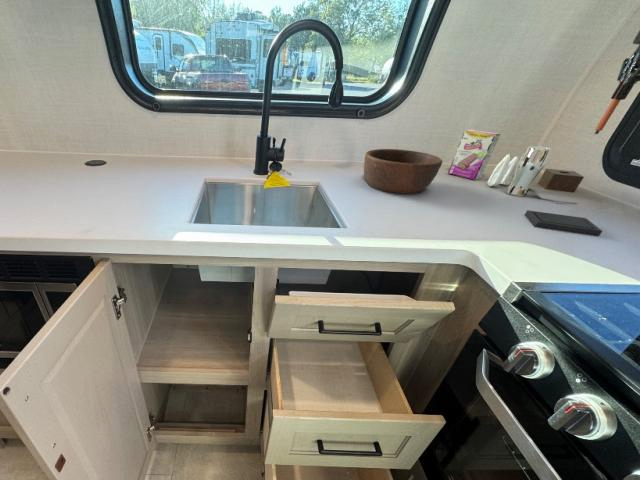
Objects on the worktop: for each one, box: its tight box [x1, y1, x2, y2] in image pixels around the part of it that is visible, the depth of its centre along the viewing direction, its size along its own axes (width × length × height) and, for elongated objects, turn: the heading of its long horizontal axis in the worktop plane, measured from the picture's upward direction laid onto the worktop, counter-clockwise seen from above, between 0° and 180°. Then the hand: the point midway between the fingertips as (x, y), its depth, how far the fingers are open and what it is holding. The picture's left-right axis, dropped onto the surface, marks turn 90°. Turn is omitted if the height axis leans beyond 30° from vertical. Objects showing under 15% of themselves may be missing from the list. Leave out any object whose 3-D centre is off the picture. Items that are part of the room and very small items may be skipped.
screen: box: [534, 211, 594, 229], centre depth 88 cm, size 11×8×1 cm
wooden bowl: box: [363, 148, 443, 194], centre depth 113 cm, size 25×25×10 cm
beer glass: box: [505, 145, 554, 197], centre depth 107 cm, size 7×7×15 cm
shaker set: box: [487, 153, 519, 187], centre depth 116 cm, size 12×4×11 cm, turn 119°
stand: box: [537, 168, 585, 193], centre depth 111 cm, size 8×8×7 cm
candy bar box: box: [447, 129, 501, 181], centre depth 124 cm, size 11×5×16 cm, turn 34°
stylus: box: [594, 82, 624, 135], centre depth 93 cm, size 2×2×14 cm
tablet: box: [524, 209, 603, 237], centre depth 88 cm, size 14×10×2 cm
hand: (617, 99), depth 91 cm, fingers closed on stylus, 1 cm apart
